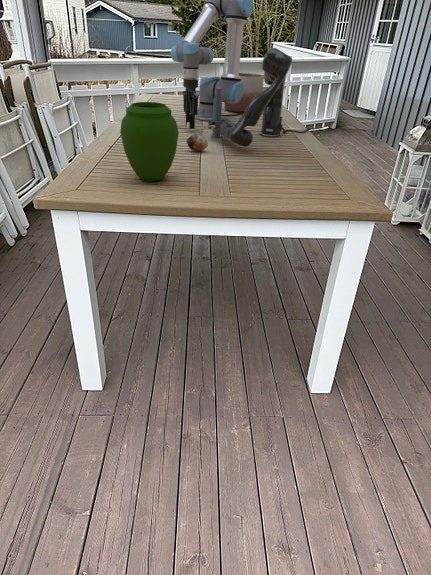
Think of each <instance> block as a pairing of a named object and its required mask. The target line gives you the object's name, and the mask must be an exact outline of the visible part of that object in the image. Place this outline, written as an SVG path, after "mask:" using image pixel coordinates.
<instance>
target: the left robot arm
mask: <svg viewBox="0 0 431 575" xmlns="http://www.w3.org/2000/svg"><path fill="white" fill-rule="evenodd" d="M253 10H254V1H253V0H206V1H205V3H204V4H203V6H202V11H201V12H200V14H199V15H198V16H197V18H196V20H194V23H193V24H192V26H191V27H190V29H189V30H188V32H187V33H186V34H185V35H184V37H183V39H182V41H181V42H180V43H179V44H177V45H176V44H175V45H173V46H172V47H171V49H170V57H171V59H172V61H173V62H175V63H179V64H180V63H182V64H183V66H182V67H183V70H182V74H183V80H182V86H183V88H185V90H183V91H182V97H183V98H182V100H183V102H182V103H183V112H184V114H185V128H186V129H188V130H195V129H196V120H199V121H202V122H203V121H204V122H209V121H210V120H213V106H214V97H215V95H216V88H221V98H222V103H229V104H231V103H232V104H236V103H238V102H239V101H240V99H241V98H242V96H243V92H244V87H243V86H244V85H243V83H242V82H241V78H240V76H239V73H240V65H241V56H242V46H243V37H244V27H245V24H246V23H247V22H248V18H249V17H251V16H252V14H253ZM220 17H225V21H226V22H227V32H226V42H225V52H224V65H223V73H222V74H221V75H220V76H206V77H201V78H200V80H199V72H200V70H199V65H200V66H201V65H205V66H207V65H210V64H212V62H213V60H214V51H213V49H211V48H210V47H207V46H204V47H201V46H200V42H201V41H202V40H203V38H204V36H205V35H206V34H207V33H208V31H209V30H210V28H211V26H212V25H213V23H214V22H216V21H218V19H219V18H220ZM197 88H199V93H197V90H196V89H197ZM243 114H244V112H243V113H234V114H222V115H221V117H237V116H242V115H243ZM187 122H190V125H189V128H187Z"/></svg>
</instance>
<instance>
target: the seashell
mask: <svg viewBox="0 0 431 575" xmlns="http://www.w3.org/2000/svg"><path fill="white" fill-rule="evenodd" d="M186 144H187V147H188V148H189V149H190V150H192V151H194V152H201V151H204V150H205V149H207V147H208V146H209V141H208V139H207V138H206V137H205V136H204V134H203V132H197V133H193V134H191V135H190V136H189V137H188V138H186Z"/></svg>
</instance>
